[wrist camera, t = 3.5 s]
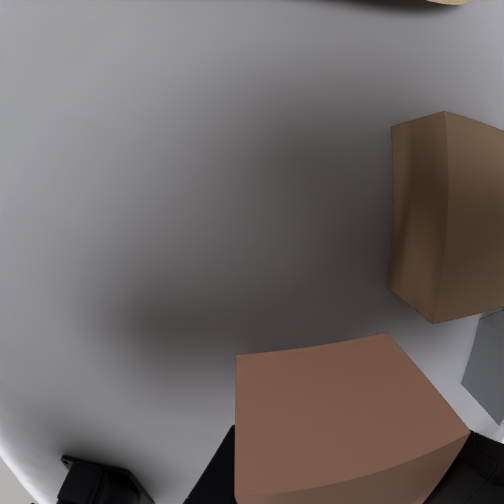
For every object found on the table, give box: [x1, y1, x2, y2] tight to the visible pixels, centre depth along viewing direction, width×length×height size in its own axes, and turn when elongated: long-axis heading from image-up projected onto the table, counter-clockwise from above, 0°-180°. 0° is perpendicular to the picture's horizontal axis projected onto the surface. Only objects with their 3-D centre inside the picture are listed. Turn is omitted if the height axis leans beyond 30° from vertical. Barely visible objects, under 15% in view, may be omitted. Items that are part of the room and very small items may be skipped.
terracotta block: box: [235, 332, 471, 504], centre depth 7 cm, size 5×5×5 cm
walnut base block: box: [387, 111, 504, 324], centre depth 9 cm, size 7×7×4 cm
